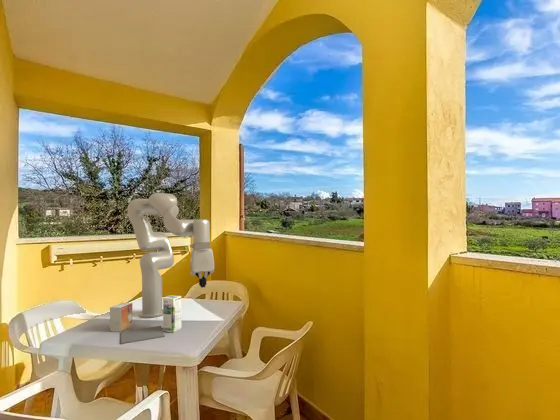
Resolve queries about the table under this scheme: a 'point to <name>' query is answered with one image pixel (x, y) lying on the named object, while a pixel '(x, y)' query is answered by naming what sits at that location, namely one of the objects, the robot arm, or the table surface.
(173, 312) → the syrup box
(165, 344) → the table surface
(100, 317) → the table surface
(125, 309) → the small box
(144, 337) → the mat
